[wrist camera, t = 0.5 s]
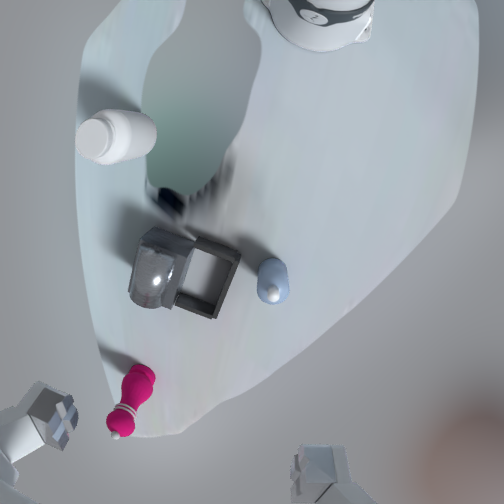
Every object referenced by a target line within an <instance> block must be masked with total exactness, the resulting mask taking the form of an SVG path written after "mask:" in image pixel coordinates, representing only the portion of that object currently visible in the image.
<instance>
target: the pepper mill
mask: <svg viewBox="0 0 504 504" xmlns="http://www.w3.org/2000/svg"><path fill="white" fill-rule="evenodd" d="M155 379H156V378H155V374H154V372H153V371H152V370H151V369H150V368H148V367H146V366H144V365H134V366H133V367H132V368H131V370H130V372H129V374H127V375H126V376H125V377H124V378H123V381H122V386H121V389H122V398H121V401H120V403H119V404H116V405H115V408H114V411H112V412H111V413H110V414H108V416H107V419H106V424H107V427H108V429H109V430H110V431H111V432H112V433H111V437H112V438H113V439H118V438H119V437H126V436H129V435H131V434H132V433H133V431H134V429H135V423H134V421H135V420H136V417H137V413H136V411H137V409H138V407H139V406H140V405H141V404H142V403H143V402H145V401H146V400H147V399H148V398H149V397H150V396H151V394H152V392H153V384H154V382H155Z"/></svg>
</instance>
